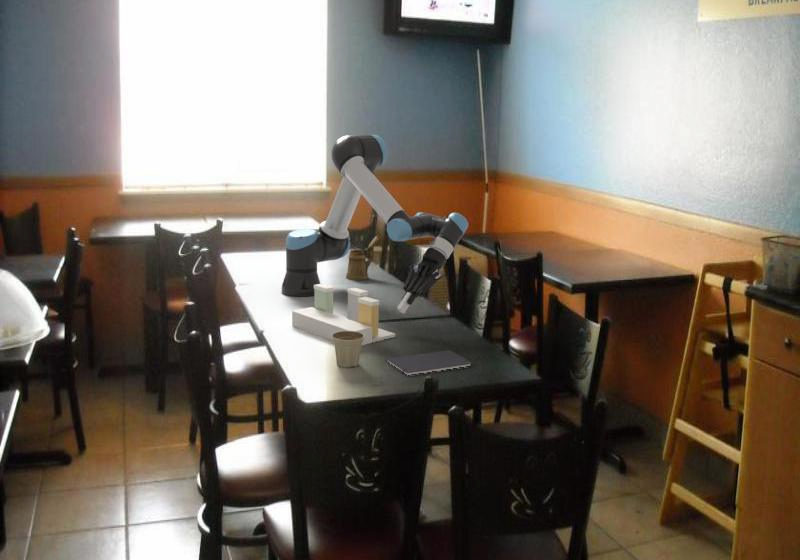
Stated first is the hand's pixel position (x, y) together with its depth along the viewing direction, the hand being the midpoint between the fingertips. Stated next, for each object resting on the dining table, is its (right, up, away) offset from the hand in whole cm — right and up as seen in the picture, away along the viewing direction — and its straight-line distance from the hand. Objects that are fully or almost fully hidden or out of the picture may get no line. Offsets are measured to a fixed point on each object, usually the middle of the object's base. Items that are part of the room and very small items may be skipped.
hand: (400, 310), depth 265 cm
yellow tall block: (-10, -7, -9) cm, 15 cm away
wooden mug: (-16, +11, +74) cm, 76 cm away
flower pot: (-15, -14, -33) cm, 39 cm away
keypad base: (-19, -7, -2) cm, 21 cm away
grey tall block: (-14, -4, +2) cm, 15 cm away
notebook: (+8, -15, -30) cm, 35 cm away
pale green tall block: (-26, -3, +6) cm, 26 cm away
